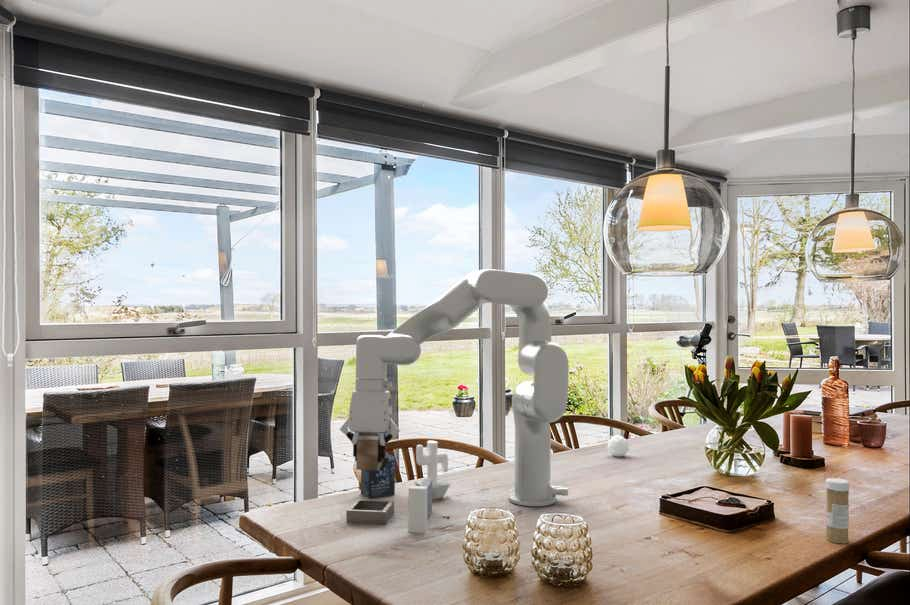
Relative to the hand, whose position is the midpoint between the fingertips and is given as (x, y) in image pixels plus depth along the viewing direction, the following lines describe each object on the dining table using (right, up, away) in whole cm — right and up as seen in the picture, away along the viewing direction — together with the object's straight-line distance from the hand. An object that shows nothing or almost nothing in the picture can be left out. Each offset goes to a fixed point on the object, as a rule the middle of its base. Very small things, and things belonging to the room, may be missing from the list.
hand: (369, 459), depth 165 cm
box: (0, -15, +20) cm, 25 cm away
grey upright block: (+13, -14, -1) cm, 20 cm away
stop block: (0, -2, 0) cm, 2 cm away
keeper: (0, -14, 0) cm, 14 cm away
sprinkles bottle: (+106, -15, -15) cm, 108 cm away
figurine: (+15, -15, +19) cm, 28 cm away
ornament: (+77, -15, +68) cm, 104 cm away
